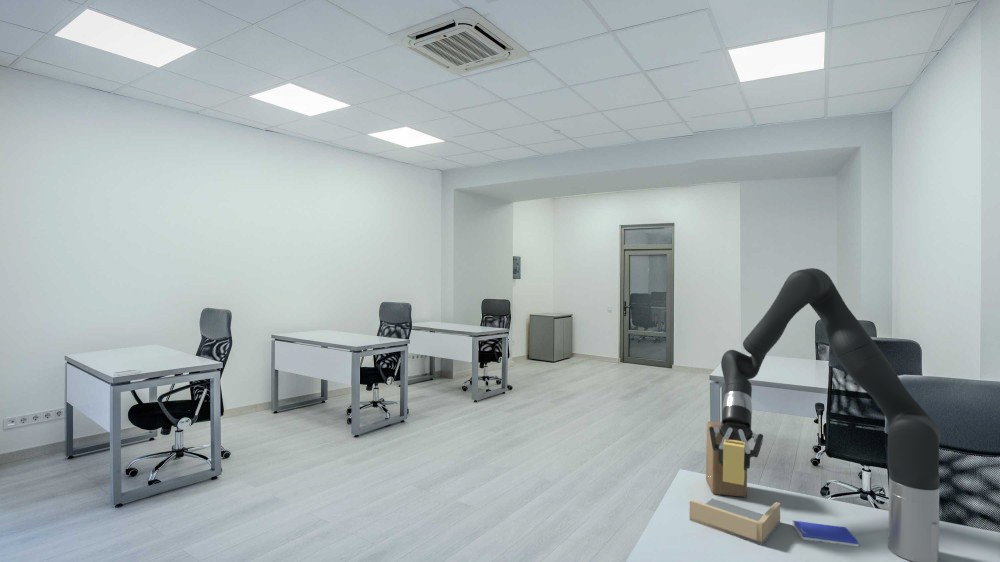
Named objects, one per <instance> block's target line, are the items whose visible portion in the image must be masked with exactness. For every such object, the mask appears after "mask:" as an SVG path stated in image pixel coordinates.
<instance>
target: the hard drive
mask: <svg viewBox="0 0 1000 562" xmlns="http://www.w3.org/2000/svg"><path fill="white" fill-rule="evenodd" d="M791 523H792V525H793V527H794V529H795V530H796V532H797V534H798V535H799V536H800V538H801V539H802V540H808V541H813V540H815V541H814V542H820V541H823V542H822V543H828V542H833V543H832V544H836V543H840V544H839V545H843V544H845V546H852V547H860V543H859V541H858V540H857V539H856V538H855V536H854V535H853V534H852V533H851V532H850V530H848V528H847V527H845V526H839V525H829V524H822V523H817V522H816V523H815V522H808V521H801V520H792V522H791ZM824 541H825V542H824Z"/></svg>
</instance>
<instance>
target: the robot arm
mask: <svg viewBox="0 0 1000 562" xmlns="http://www.w3.org/2000/svg"><path fill="white" fill-rule="evenodd" d="M807 305H810V307H811V308H812V309H813V311H814V312H815V313H816V314H817V316H818V317H819V318H820V320H821V322H822V324H823V327H824V329H825V334H826V337H827V340H828V343H829V347H830V348H831V350H832V352H833V355H834V356H835V357H836V359H837V360H838V362H839V363H840V365H841V366H842V368H843V369H844V370H845V372H846V373H847V374H848V376H849V377H851V379H852V380H853V381H854V382H855V383H856V384H857V385H858V386H859V387H860V388H861V389H862V390H864V391H865V392H866V393H867V394H868V395H869V396H870V397H871V398H872V399H873V401H875V402H876V404H877V405H878V407H879V408H880V410H881V411H882V413H883V415H884V417H885V418H886V420H887V421H888V423H889V428H888V430H887V431H888V432H887V465H888V466H887V467H888V468H887V469H888V473H889V474H888V477H889V478H888V524H887V525H888V526H887V527H888V528H887V530H888V531H887V532H888V534H887V535H888V536H887V543H888V544H887V547H888V549H889V551H890V552H891V553H893V554H895V555H897V556H898V557H900V558H902V559H904V560H908V561H910V562H939V556H940V472H939V471H940V469H939V468H940V466H939V464H940V463H939V462H940V444H941V439H942V433H941V429H940V428H939V426H938V425H937V423H936V422H935V421H934V419H932V417H931V416H930V415H929V414H928V413H927V412H926V411H925V410H924V409H923V407H922V406H921V405H920V403H918V402H917V401H916V400H915V398H914V397H913V396H912V395H911V394H910V392H909V391H908V390H907V389H906V387H905V386H904V384H903V382H902V380H901V379H900V377H899V376H898V374H897V373H896V371H895V369H894V368H893V366H892V365H891V363H890V362H889V361H888V359H887V357H886V355H884V353H883V351H882V350H881V349H880V348H879V346H878V345H877V344H876V342H875V341H874V340H873V338H872V337H871V336H870V334H869V333H868V332H867V330H866V329H865V328H864V326H863V325H862V324H861V322H860V321H859V320H858V319H857V318H856V316H855V315H854V314H853V312H852V311H851V309H849V307H848V305H846V303H845V301H844V299H843V298H842V296H841V294H840V292H839V291H838V289H837V287H836V285H835V283H834V282H833V280H832V279H831V277H830V276H829V275H828V274H827V273H826V272H825V271H823V270H822V269H820V268H816V267H815V268H812V267H811V268H810V267H809V268H805V269H800V270H799V269H798V270H796V271H793V272H792V273H790V275H789V276H787V278H786V280H785V281H784V283H783V285H782V287H781V288H780V290H779V292H778V295H776V298H775V299H774V301H773V302H772V304H771V305H770V308H769V309H768V310H767V311H766V312H765V314H764V316H763V317H762V318H761V319H760V320H759V321H758V323H757V324H756V326H754V327H753V329H752V330H751V331H750V333H749V334H748V335H747V336H746V337H745V338H744V340H743V343H742V346H743V348H744V350H745V351H746V352H747V353H748V354H750V356H749V355H747V354H745V353H743V352H740V351H738V350H735V349H729V350H726V352H724V354H723V355H722V357H721V362H720V365H721V366H720V367H721V371H722V376H723V380H724V384H725V388H724V389H725V390H724V398H723V403H722V414H721V422H722V424H721V426H720V427H719V428H713V427H709V431H710V437H711V443H712V448H713V450H716V451H718V452H719V453H718V462H719V464H721V466H723V443H724V440H728V439H730V440H737V441H742V442H743V443H745V454H744V470H746V471H747V472H748V469H750V467H751V458H758V457H759V454H760V451H761V449H762V445H763V443H764V435H763V434H762V433H759V434H758V433H754V432H753V430H752V416H753V405H752V404H753V403H752V395H753V394H752V392H753V391H752V390H753V388H752V384H751V381H749V380H752V379H754V378H755V377H756V376H757V375H758V373H759V372H760V369H761V367H762V364H763V362H764V361H765V358H766V356H767V354H768V353H769V352H770V351H771V350H772V348H773V347H774V346H775V345H776V344H777V343H778V342H779V340H780V338H781V337H782V336H783V334H784V333H785V332H784V331H785V330H786V328H787V326H788V324H789V323H790V321H791V320H792V319H793V318H794V316H796V315H797V314H798V313H799V312H800V311H801V310H802V309H803V308H805V307H806V306H807ZM718 433H720V434H721V435H722V436H723V439H722V442H721V444H720V445H718V444H717V443H716V438H715V437H716V436H718ZM751 439H753V442H754V445H753V449H750V447H749V444H748V442H749V441H750V440H751Z"/></svg>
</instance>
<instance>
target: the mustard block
mask: <svg viewBox="0 0 1000 562" xmlns="http://www.w3.org/2000/svg"><path fill="white" fill-rule="evenodd" d="M744 454H745V443H743V442H742V441H737V440H730V439H728V440H724V443H723V481H724V482H729V483H735V484H740V485H744V479H745V470H744Z"/></svg>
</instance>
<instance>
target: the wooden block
mask: <svg viewBox="0 0 1000 562" xmlns="http://www.w3.org/2000/svg"><path fill="white" fill-rule="evenodd" d="M721 424H722V421H712V420H711V421H707V423H706V445H705V446H706V448H705V449H706V453H705V454H706V455H705V456H706V457H705V459H706V460H705V462H706V463H705V464H706V465H705V468H706V469H705V472H706V473H705V480H706V483H707V485H708V487H709V490H710V491H711V493H712V494H713V495H721V496H731V497H739V498H740V497H743V498H745V497H747V493H748V492H747V491H748V470H747V471H746V470H745V479H744V485H740V484H735V483H729V482H724V481H723V466H721V464H719V462H718V453H719V452H718V451H716V450H713V448H712V443H711V437H710V431H709V427H713V428H719V427H720V426H721ZM715 438H716V443H717V444H718V445H720V444H721V442H722V439H723V436H722V435H721V434H720V433H718V436H716V437H715ZM708 476H709V477H708ZM710 476H711V477H710Z"/></svg>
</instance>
